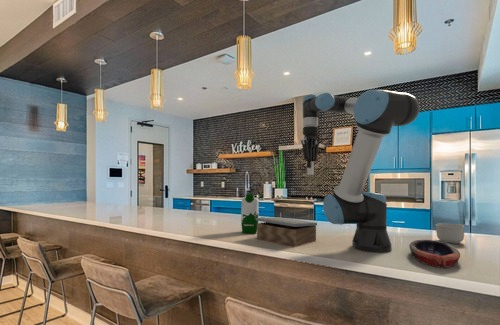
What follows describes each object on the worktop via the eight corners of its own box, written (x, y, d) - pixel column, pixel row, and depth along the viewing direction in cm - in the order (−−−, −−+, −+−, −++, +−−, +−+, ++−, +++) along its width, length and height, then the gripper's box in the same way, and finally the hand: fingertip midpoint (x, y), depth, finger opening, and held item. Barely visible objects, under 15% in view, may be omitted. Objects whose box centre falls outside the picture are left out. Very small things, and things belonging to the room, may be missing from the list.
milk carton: (240, 233, 152) (240, 194, 153) (242, 230, 161) (242, 193, 162) (257, 234, 151) (257, 194, 152) (258, 231, 160) (259, 193, 161)
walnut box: (316, 241, 137) (316, 225, 137) (294, 246, 125) (294, 230, 126) (278, 234, 152) (279, 220, 153) (257, 238, 141) (257, 223, 141)
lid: (316, 225, 137) (317, 222, 137) (294, 226, 125) (295, 223, 125) (278, 219, 153) (278, 216, 153) (255, 220, 141) (255, 217, 142)
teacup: (469, 245, 130) (468, 227, 131) (441, 244, 133) (441, 226, 133) (454, 239, 144) (454, 222, 144) (429, 238, 146) (429, 221, 147)
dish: (452, 252, 120) (452, 239, 120) (467, 275, 92) (466, 258, 92) (408, 247, 127) (408, 235, 127) (410, 267, 99) (409, 252, 100)
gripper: (311, 129, 155) (311, 174, 154) (296, 126, 146) (296, 174, 145) (324, 127, 150) (324, 174, 149) (309, 124, 141) (309, 174, 140)
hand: (310, 174), depth 147 cm, fingers closed
